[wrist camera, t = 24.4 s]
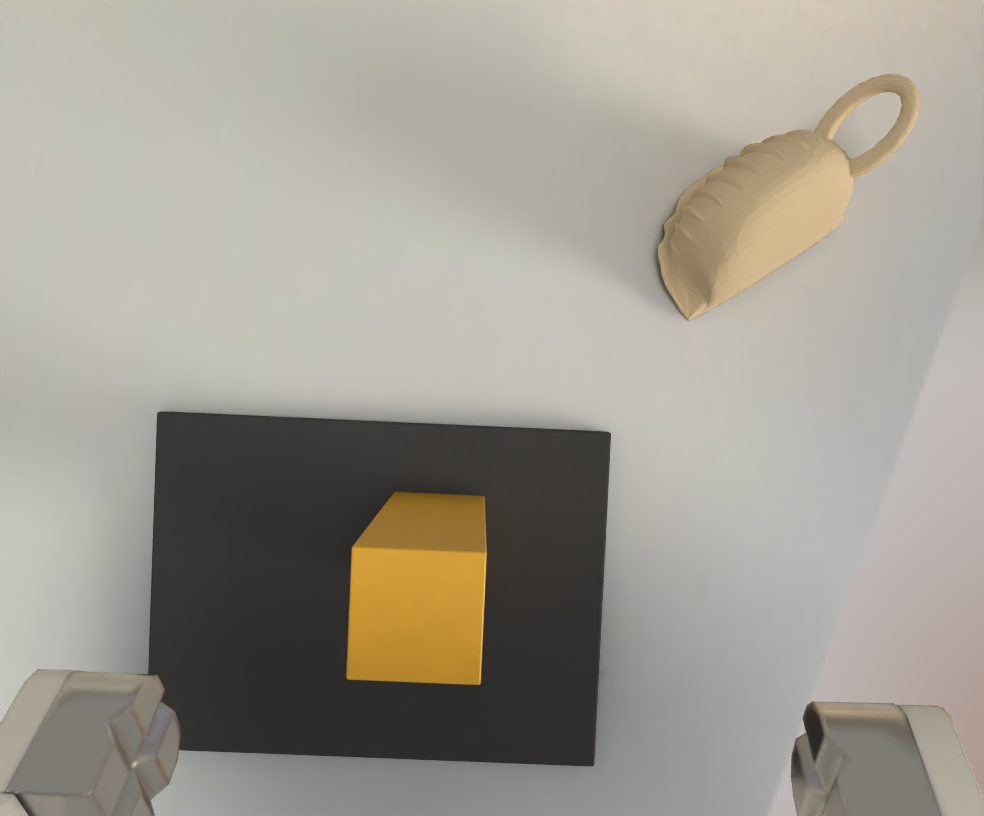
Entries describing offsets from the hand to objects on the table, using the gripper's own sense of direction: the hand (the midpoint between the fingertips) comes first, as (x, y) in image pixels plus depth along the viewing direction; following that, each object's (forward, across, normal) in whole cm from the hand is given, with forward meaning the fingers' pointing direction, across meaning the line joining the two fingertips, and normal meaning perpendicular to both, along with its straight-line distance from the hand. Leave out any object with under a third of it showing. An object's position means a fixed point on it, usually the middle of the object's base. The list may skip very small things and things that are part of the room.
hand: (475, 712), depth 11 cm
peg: (+15, +3, +12) cm, 19 cm away
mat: (+14, +5, +14) cm, 21 cm away
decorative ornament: (+23, -8, +4) cm, 25 cm away
